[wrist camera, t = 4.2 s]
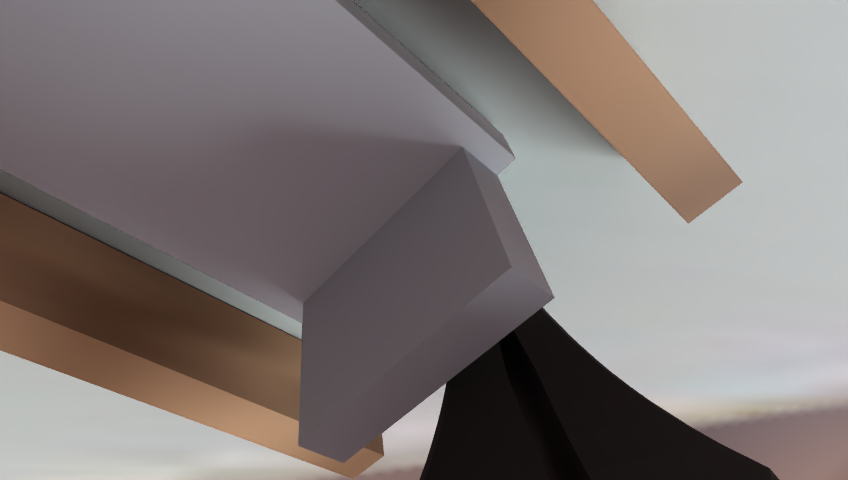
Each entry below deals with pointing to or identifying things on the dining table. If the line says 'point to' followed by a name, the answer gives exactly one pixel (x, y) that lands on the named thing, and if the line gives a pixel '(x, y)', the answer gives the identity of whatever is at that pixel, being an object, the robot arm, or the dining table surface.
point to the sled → (283, 181)
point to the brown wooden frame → (264, 344)
